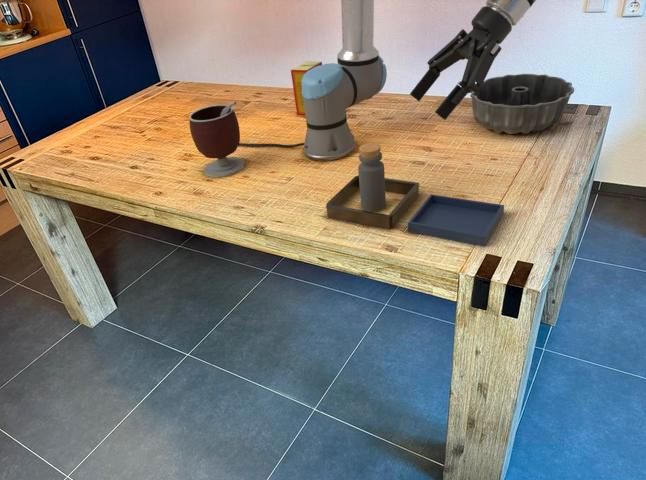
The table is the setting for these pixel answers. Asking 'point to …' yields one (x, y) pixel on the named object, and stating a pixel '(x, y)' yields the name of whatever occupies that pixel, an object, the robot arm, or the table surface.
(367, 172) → the bottle
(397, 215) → the dark brown square frame
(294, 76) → the baking soda box
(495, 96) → the bundt pan
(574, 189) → the table surface
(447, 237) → the tray
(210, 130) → the mate gourd
